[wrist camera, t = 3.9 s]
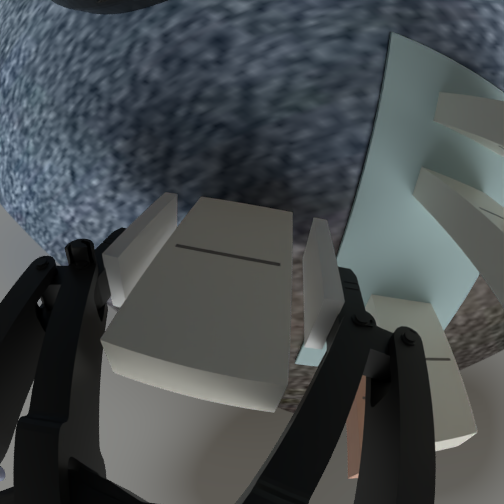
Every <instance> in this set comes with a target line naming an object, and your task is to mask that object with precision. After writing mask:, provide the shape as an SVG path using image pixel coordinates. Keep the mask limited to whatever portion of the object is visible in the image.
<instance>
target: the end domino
mask: <svg viewBox="0 0 504 504" xmlns="http://www.w3.org/2000/svg"><path fill="white" fill-rule="evenodd" d="M365 393H366V376H364V375H362V378H361V381H360V384H359V387H358V390H357V393H356V396H355V399H354V402H353V404H352V407H351V410H350V412H349V415H348V418H347V420H346V423H347V448H348V478H358V475H359V468H360V459H361V451H362V440H363V429H364V414H365Z"/></svg>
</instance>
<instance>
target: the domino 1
mask: <svg viewBox="0 0 504 504" xmlns="http://www.w3.org/2000/svg"><path fill="white" fill-rule="evenodd" d="M292 253H293V212H289V211H284V210H278V209H273V208H267V207H262V206H256V205H251V204H245V203H239V202H233V201H227V200H221V199H214V198H208V197H200V198H199V200H198V201H197V202H196V204H195V205H194V206H193V207H192V209H191V210H190V211H189V212H188V214H187V215H186V216H185V218H184V219H183V220H182V221H181V223H180V224H179V225H178V227H177V228H176V229H175V231H174V232H173V233H172V235H171V236H170V237H169V239H168V240H167V241H166V243H165V244H164V245H163V247H162V248H161V250H160V251H159V252H158V254H157V255H156V256H155V258H154V259H153V261H152V262H151V263H150V265H149V266H148V268H147V269H146V270H145V272H144V273H143V275H142V276H141V278H140V279H139V281H138V282H137V283H136V285H135V286H134V288H133V289H132V291H131V292H130V294H129V295H128V297H127V298H126V300H125V301H124V303H123V304H122V306H121V307H120V309H119V310H118V312H117V314H116V315H115V317H114V318H113V320H112V321H111V323H110V324H109V326H108V328H107V329H106V331H105V332H104V334H103V336H102V337H101V339H100V341H101V344H102V346H103V349H104V351H105V354H106V356H107V358H108V361H109V363H110V365H111V368H112V370H113V372H114V373H116V374H119V375H122V376H124V377H127V378H131V379H133V380H136V381H139V382H142V383H145V384H149V385H151V386H155V387H158V388H161V389H165V390H168V391H172V392H175V393H179V394H183V395H187V396H190V397H195V398H199V399H203V400H207V401H212V402H217V403H221V404H226V405H232V406H237V407H242V408H248V409H255V410H261V411H267V412H275V410H276V408H277V406H278V404H279V402H280V400H281V398H282V396H283V394H284V392H285V390H286V388H287V386H288V371H289V353H290V330H291V302H292Z"/></svg>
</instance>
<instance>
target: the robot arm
mask: <svg viewBox="0 0 504 504" xmlns="http://www.w3.org/2000/svg"><path fill="white" fill-rule="evenodd" d="M52 1H53V2H55V3H56V4H58V5H61V6H63V7H66V8H69V9H74V10H79V11H84V12H89V13H94V14H117V13H124V12H130V11H135V10H139V9H142V8H146V7H149V6H152V5H155V4H158V3H161V2H164V1H166V0H52ZM177 195H178V194H175V193H168V192H165V193H164V194H163V195H162V196H160V197H159V198H158V199H157V200H156V201H155V202H154V203H153V204H152V205H151V206H150V207H149V208H147V209H146V210H145V211H144V212H143V213H142V214H141V215H140V216H139V217H138V218H137V219H136V220H135V221H134V222H133V223H132V224H131V225H130V226H129V227H128V228H120V229H118V230H116V231H114V232H113V233H111V234H110V235H109V236H108V238H106V239H105V240H104V241H103V243H101V244H100V245H99V246H98V247H97V248H96V249H94V244H93V242H92V241H91V240H88V239H77V240H74V241H72V242H70V243H69V244H67V245H66V247H65V252H66V256H67V260H68V263H69V265H68V266H56V263H55V259H54V258H53V257H51V256H43V257H39V258H37V259H36V260H35V261H33V262H32V263H31V264H30V266H29V267H28V268H27V269H26V271H25V272H24V273H23V274H22V275H21V277H20V278H19V279H18V281H17V282H16V283H15V285H14V286H13V287H12V288H11V289H10V291H9V292H8V294H7V295H6V296H5V298H4V299H3V300H2V302H1V303H0V463H1V462H2V460H3V458H4V457H5V454H6V452H7V450H8V448H9V445H10V442H11V440H12V437H13V433H14V430H15V427H16V425H17V427H16V435H15V447H14V487H11V488H9V489H6V490H3V491H0V504H155V503H149V502H147V501H145V500H143V499H142V498H140V497H139V496H137V495H135V494H134V493H132V492H131V491H129V490H127V489H125V488H122V487H121V486H119V485H117V484H115V483H113V482H111V481H109V480H107V479H106V470H105V464H104V460H103V458H102V455H101V452H100V447H99V394H100V377H101V363H102V352H103V346H102V344H101V341H100V339H101V337H102V336H103V334H104V332H105V326H106V318H107V312H108V306H107V300H108V299H109V297H110V296H111V299H112V303H113V305H114V306H117V307H121V306H122V304H123V303H124V301H125V300H126V298H127V297H128V295H129V294H130V292H131V291H132V289H133V288H134V286H135V285H136V283H137V282H138V281H139V279H140V278H141V276H142V275H143V273H144V272H145V270H146V269H147V268H148V266H149V265H150V263H151V262H152V261H153V259H154V258H155V256H156V255H157V254H158V252H159V251H160V250H161V248H162V247H163V245H164V244H165V243H166V241H167V240H168V239H169V237H170V236H171V235H172V233H173V232H174V231H175V229H176V228H177ZM358 284H359V283H358V280H357V276H356V275H355V274H354V272H353V271H352V270H351V269H349V268H343V267H338V265H337V260H336V256H335V251H334V247H333V243H332V238H331V234H330V230H329V226H328V222H327V220H324V219H319V218H315V217H314V218H313V222H312V226H311V229H310V233H309V237H308V241H307V244H306V248H305V252H304V255H303V288H304V347H306V348H314V349H322V348H323V346H324V344H325V342H326V345H327V350H326V352H325V354H324V356H323V358H322V360H321V362H320V363H319V365H318V369H317V371H316V373H315V375H314V377H313V379H312V381H311V383H310V384H309V386H308V388H307V390H306V392H305V394H304V396H303V398H302V400H301V402H300V403H299V405H298V407H297V409H296V411H295V413H294V414H293V416H292V418H291V420H290V421H289V423H288V425H287V427H286V428H285V430H284V432H283V433H282V435H281V437H280V438H279V440H278V442H277V443H276V445H275V447H274V448H273V450H272V451H271V453H270V455H269V456H268V458H267V460H266V461H265V462H264V464H263V465H262V467H261V469H260V470H259V471H258V473H257V474H256V476H255V477H254V479H253V480H252V482H251V483H250V485H249V486H248V488H247V489H246V490H245V492H244V493H243V494H242V495H241V497H240V498H239V499H238V501H237V502H236V503H235V504H308V503H309V500H310V498H311V496H312V494H313V492H314V490H315V488H316V486H317V484H318V482H319V480H320V478H321V476H322V474H323V472H324V470H325V468H326V466H327V464H328V462H329V460H330V458H331V456H332V453H333V451H334V449H335V447H336V444H337V442H338V440H339V437H340V435H341V432H342V430H343V428H344V425H345V423H346V420H347V418H348V415H349V412H350V410H351V407H352V404H353V402H354V399H355V396H356V393H357V390H358V387H359V384H360V381H361V378H362V375H364V376H366V393H365V414H364V429H363V440H362V451H361V459H360V468H359V475H358V482H357V489H356V494H355V500H354V504H434V497H435V468H436V467H435V465H436V464H435V432H434V418H433V408H432V398H431V390H430V383H429V376H428V370H427V364H426V358H425V352H424V347H423V342H422V339H421V337H420V335H419V334H418V333H417V332H416V331H415V330H413V329H412V328H409V327H407V326H401V327H398V328H397V329H396V330H395V331H394V333H392V332H390V331H387V330H385V329H382V328H380V327H378V326H376V321H375V319H374V317H373V316H372V315H371V314H370V313H369V312H367V311H366V310H365V306H364V302H363V298H362V295H361V291H360V287H359V285H358ZM40 298H41V301H42V304H41V306H40V307H39V306H38V304H37V302H38V300H39V299H40ZM33 381H34V384H33V389H32V395H31V402H30V408H29V413H28V414H27V416H23V417H21V418H20V419H19V416H20V413H21V411H22V408H23V405H24V403H25V400H26V397H27V395H28V393H29V390H30V387H31V385H32V383H33ZM18 419H19V420H18ZM4 478H5V471H4V470H3V468H2V467H1V466H0V481H3V480H4Z"/></svg>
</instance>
